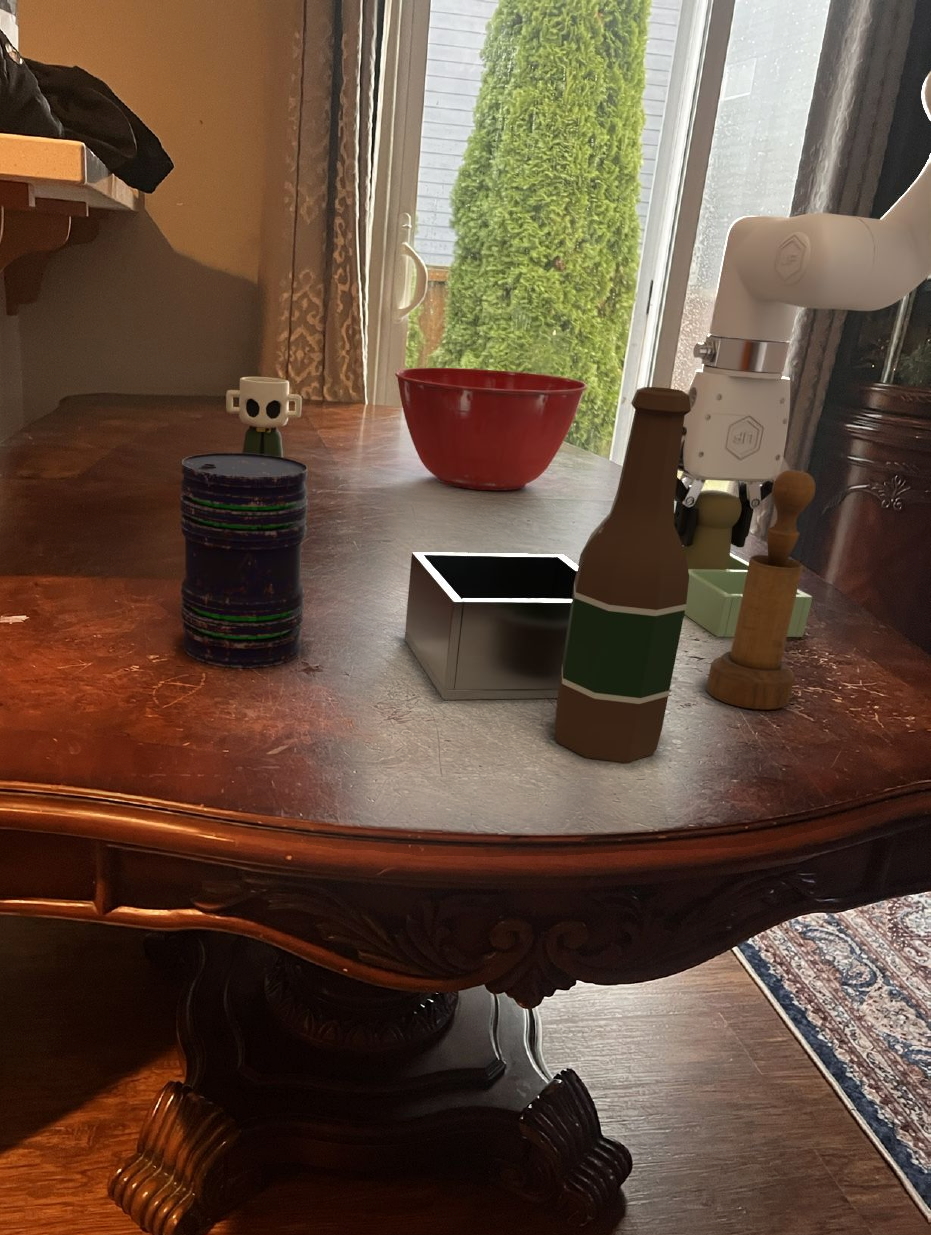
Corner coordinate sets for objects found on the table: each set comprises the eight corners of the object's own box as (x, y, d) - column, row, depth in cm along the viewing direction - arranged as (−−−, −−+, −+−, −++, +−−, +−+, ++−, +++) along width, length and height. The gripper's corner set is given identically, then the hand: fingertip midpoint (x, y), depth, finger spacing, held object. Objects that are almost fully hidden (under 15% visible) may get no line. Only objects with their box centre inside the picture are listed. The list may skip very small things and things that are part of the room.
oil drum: (276, 623, 93) (281, 451, 87) (321, 661, 85) (330, 475, 79) (166, 633, 89) (163, 453, 82) (203, 674, 81) (202, 478, 75)
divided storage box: (715, 584, 116) (723, 548, 114) (803, 637, 100) (813, 596, 99) (639, 583, 114) (645, 547, 112) (716, 637, 98) (725, 596, 97)
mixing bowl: (368, 488, 150) (375, 375, 144) (408, 457, 176) (415, 360, 170) (566, 510, 145) (582, 395, 139) (577, 476, 171) (591, 376, 165)
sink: (551, 639, 94) (563, 554, 91) (610, 697, 82) (626, 602, 79) (404, 639, 91) (411, 551, 88) (443, 700, 79) (453, 601, 76)
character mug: (223, 472, 153) (224, 379, 147) (227, 463, 159) (228, 374, 154) (298, 477, 153) (302, 384, 148) (299, 468, 160) (302, 379, 155)
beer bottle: (572, 709, 79) (624, 378, 70) (673, 737, 76) (741, 393, 66) (531, 743, 73) (581, 385, 64) (639, 775, 70) (709, 401, 60)
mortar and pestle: (713, 674, 89) (759, 459, 82) (793, 691, 87) (847, 471, 79) (699, 698, 83) (746, 470, 76) (783, 717, 81) (840, 483, 74)
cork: (659, 595, 110) (679, 490, 105) (679, 584, 115) (699, 483, 110) (715, 608, 107) (738, 501, 102) (734, 596, 112) (756, 493, 107)
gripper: (680, 357, 96) (646, 551, 103) (845, 367, 100) (801, 554, 107) (646, 350, 103) (616, 532, 110) (801, 359, 106) (763, 536, 114)
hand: (708, 541), depth 108 cm, fingers closed on cork, 5 cm apart
